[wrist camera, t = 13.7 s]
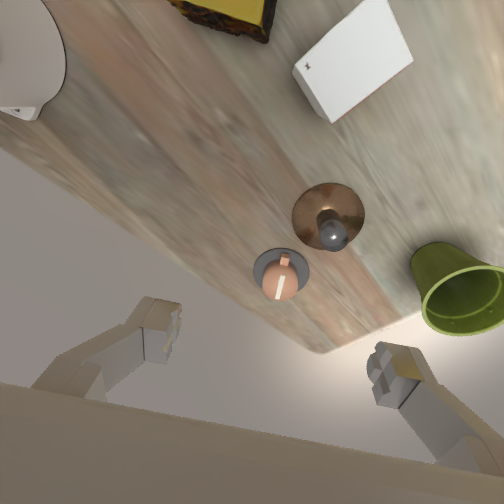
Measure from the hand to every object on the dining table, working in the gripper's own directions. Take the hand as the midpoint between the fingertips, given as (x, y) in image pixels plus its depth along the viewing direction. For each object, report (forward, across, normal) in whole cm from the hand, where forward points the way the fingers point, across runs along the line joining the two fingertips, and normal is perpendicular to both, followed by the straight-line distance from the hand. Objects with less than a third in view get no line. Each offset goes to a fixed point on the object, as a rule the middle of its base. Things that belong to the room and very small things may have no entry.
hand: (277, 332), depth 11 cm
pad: (+34, -4, +20) cm, 39 cm away
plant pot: (+34, -28, +11) cm, 45 cm away
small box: (+34, -4, -12) cm, 36 cm away
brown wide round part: (+34, -9, +8) cm, 36 cm away
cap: (+33, -4, +20) cm, 39 cm away
